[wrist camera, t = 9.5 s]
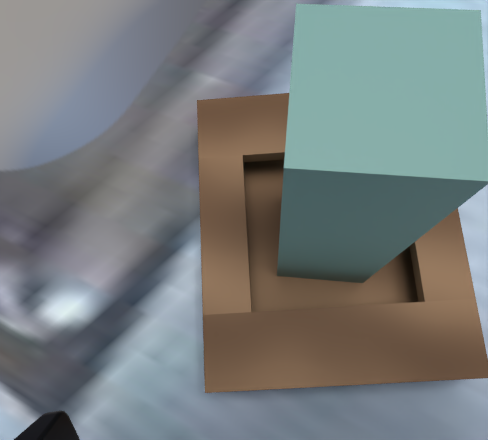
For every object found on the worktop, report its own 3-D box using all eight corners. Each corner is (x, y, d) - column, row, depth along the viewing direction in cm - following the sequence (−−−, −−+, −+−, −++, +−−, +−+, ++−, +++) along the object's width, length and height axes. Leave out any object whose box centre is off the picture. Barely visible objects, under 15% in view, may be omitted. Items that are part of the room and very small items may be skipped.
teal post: (362, 283, 21) (491, 181, 9) (276, 275, 22) (283, 168, 9) (364, 202, 22) (481, 10, 10) (282, 196, 23) (296, 4, 10)
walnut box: (460, 374, 20) (491, 377, 17) (214, 387, 21) (204, 392, 18) (413, 114, 24) (432, 81, 21) (205, 130, 24) (197, 100, 22)
